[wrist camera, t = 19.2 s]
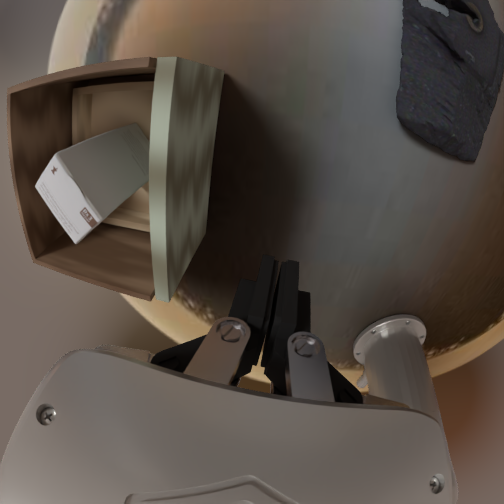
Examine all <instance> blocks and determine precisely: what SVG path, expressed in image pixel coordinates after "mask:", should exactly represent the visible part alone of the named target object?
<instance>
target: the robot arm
mask: <svg viewBox="0 0 504 504" xmlns="http://www.w3.org/2000/svg"><path fill="white" fill-rule="evenodd" d="M274 258H275V257H273V256H268V255H263V257H262V262H261V266H260V270H259V274H258V278H257V282H255V281H251V280H246V279H240V282H239V285H238V288H237V291H236V294H235V297H234V300H233V304H232V307H231V310H230V313H229V316H228V317H225V318H221V319H219V320H217V321H216V322H215V323H214V324H213V326H212V327H211V329H210V331H209V332H208V334H207V335H204V336H202V337H199V338H196V339H194V340H191V341H188V342H185V343H183V344H180V345H177V346H175V347H172V348H169V349H166V350H163V351H161V352H159V353H157V354H150V352H149V351H145V350H137V349H130V348H124V347H117V346H111V345H101V346H98V347H96V348H95V349H79V350H74V351H70V352H68V353H67V354H65V355H64V356H62V357H61V358H60V359H59V360H58V361H57V362H56V363H55V364H54V365H53V367H52V368H51V369H50V370H49V372H48V373H47V374H46V376H45V377H44V379H43V380H42V382H41V383H40V384H39V386H38V388H37V389H36V391H35V392H34V394H33V396H32V397H31V399H30V401H29V403H28V404H27V406H26V408H25V410H24V412H23V414H22V415H21V418H20V420H19V421H18V423H17V425H16V427H15V429H14V431H13V434H12V436H11V438H10V441H9V443H8V446H7V448H6V451H5V453H4V456H3V458H2V461H1V464H0V504H456V503H457V500H458V485H457V480H456V476H455V473H454V469H453V466H452V463H451V459H450V455H449V450H448V445H447V441H446V438H445V434H444V429H443V424H442V420H441V415H440V411H439V406H438V402H437V398H436V394H435V390H434V386H433V382H432V379H431V375H430V372H429V368H428V365H427V361H426V358H425V355H424V352H423V349H422V346H421V345H422V344H423V342H424V340H425V338H426V328H425V325H424V323H423V322H422V320H420V319H419V318H418V317H416V316H413V315H402V314H401V315H393V316H390V317H386V318H383V319H381V320H378V321H377V322H375V323H373V324H371V325H370V326H368V327H367V328H365V329H364V330H363V331H362V332H361V333H360V334H359V336H358V337H357V338H356V340H355V342H354V345H353V352H354V357H355V359H356V360H357V361H358V362H359V363H361V364H363V365H364V368H365V370H364V371H363V375H362V376H361V377H360V378H359V379H358V380H357V385H358V387H360V388H364V387H365V386H366V385H367V384H368V388H369V394H366V395H365V396H364V395H361V393H360V392H359V390H358V389H357V388H356V387H355V386H353V385H352V384H351V383H350V382H349V381H348V380H347V379H346V378H345V377H344V376H343V375H342V374H341V373H340V372H338V371H337V370H336V369H335V368H334V367H333V366H332V365H331V364H330V363H329V362H328V361H327V359H326V354H325V349H324V345H323V343H322V341H321V340H320V339H319V338H318V337H317V336H315V335H314V334H312V333H310V293H309V292H304V291H299V290H298V281H299V262H297V261H292V260H287V262H282V264H281V268H280V272H279V276H278V280H277V284H276V288H275V282H276V276H277V269H278V262H279V261H277V260H274ZM274 289H275V292H274ZM266 331H267V332H266ZM265 335H266V337H265ZM264 338H265V343H264V349H263V355H262V360H261V367H265V370H264V374H265V375H266V376H267V377H268V378H269V380H270V381H271V387H270V388H271V394H269V393H264V392H258V391H253V390H249V389H244V388H239V387H237V386H238V384H239V381H240V378H241V377H242V376H244V375H246V374H248V373H250V372H251V369H252V365H255V366H257V363H258V359H259V356H260V352H261V349H262V345H263V342H264Z"/></svg>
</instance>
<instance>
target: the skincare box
mask: <svg viewBox="0 0 504 504" xmlns="http://www.w3.org/2000/svg"><path fill="white" fill-rule="evenodd" d="M149 150H150V142H149V141H148V139H147V138H146V136H145V135H144V133H143V132H142V130H141V129H140V127H139V126H138V125H137V123H133V124H130V125H127V126H123V127H120V128H117V129H114V130H111V131H109V132H106V133H103V134H100V135H97V136H95V137H92V138H90V139H87V140H85V141H82V142H80V143H78V144H75V145H73V146H71V147H69V148H67V149H64V150H62V151H59V152H57V153H56V154H55V155H54V156H53V158H52V159H51V161H50V162H49V164H48V165H47V167H46V168H45V170H44V172H43V173H42V175H41V176H40V178H39V180H38V181H37V183H36V185H35V187H36V189H37V191H38V192H39V194H40V195H41V197H42V198H43V200H44V201H45V203H46V204H47V206H48V207H49V209H50V210H51V211H52V213H53V214H54V216H55V217H56V219H57V220H58V221H59V223H60V224H61V226H62V227H63V228H64V230H65V231H66V232H67V234H68V235H69V236H70V238H71V239H72V240H73V242H74V243H75V244H78V243H79V242H80V241H81V240H82V239H83V238H84V237H85V236H86V235H87V234H88V233H89V232H91V231H92V230H93V229H94V228H95V227H96V226H97V225H99V224H100V223H101V222H102V221H103V220H104V219H105V218H106V217H107V216H108V215H109V214H110V213H111V212H113V211H114V210H115V209H116V208H117V207H118V206H119V205H120V204H122V203H123V202H124V201H125V200H126V199H128V198H129V197H130V196H131V195H132V194H133V193H135V192H136V191H137V190H138V189H139V188H141V187H142V186H143V185H144V184H146V183H147V182H148V181H149Z"/></svg>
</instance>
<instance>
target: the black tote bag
mask: <svg viewBox="0 0 504 504" xmlns="http://www.w3.org/2000/svg"><path fill="white" fill-rule="evenodd" d="M436 1H437V2H438V3H440V4H444V5H445V6H446V7H447V8H448V9H449V16H448V17H445V15H443V14H441V13H440V12H437V11H435V10H433V9H430V8H428V7H423V6H421V4H420V3H419V1H418V0H403V6H404V8H403V11H402V12H403V17H404V19H403V20H402V21H403V27H402V29H403V36H402V43H401V49H402V55H403V56H402V58H401V72H400V87H399V89H398V92H397V96H396V113H397V118H398V119H399V120H400V122H402V124H403V125H404V126H405V127H406V128H408V129H409V130H411V131H413V132H415V133H416V134H417V135H419V136H421V137H422V138H424V139H425V140H426V141H427V142H429V143H431V144H432V145H435V146H438V147H439V148H441V149H442V150H443V151H445V152H446V153H449V154H451V155H457V156H458V158H459V159H461V160H465V161H468V160H471V161H475V160H476V158H477V155H478V152H479V150H480V148H481V145H482V140H483V136H484V133H485V131H486V130H487V126H488V124H489V121H490V116H491V114H492V111H493V108H494V106H495V103H496V99H497V95H498V89H499V87H500V86H501V79H502V74H503V70H504V33H503V32H502V31H501V30H500V28H499V27H498V24H497V23H496V21H495V19H494V13H493V11H492V9H491V7H490V4H489V1H488V0H436Z"/></svg>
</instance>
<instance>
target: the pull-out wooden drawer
mask: <svg viewBox="0 0 504 504" xmlns="http://www.w3.org/2000/svg"><path fill="white" fill-rule="evenodd" d="M223 78H224V71H223V70H220V69H217V68H214V67H211V66H207V65H204V64H201V63H198V62H194V61H190V60H187V59H183V58H179V57H158V58H157V65H156V72H155V81H148V82H127V83H114V84H104V85H95V86H87V87H80V88H74V89H73V99H72V144H73V145H75V144H78V143H80V142H82V141H85V140H87V139H90V138H92V137H95V136H97V135H100V134H103V133H106V132H109V131H111V130H114V129H117V128H120V127H123V126H127V125H130V124H133V123H137V125H138V126H139V127H140V129H141V130H142V132H143V133H144V135H145V136H146V138H147V139H148V141H149V142H150V150H149V181H148V182H147V183H146V184H144V185H143V186H142V187H141V188H139V189H138V190H137V191H136V192H135V193H133V194H132V195H131V196H130V197H129V198H128V199H126V200H125V201H124V202H123V203H122V204H120V205H119V206H118V207H117V208H116V209H115V210H114V211H113V212H111V213H110V214H109V215H108V216H107V217H106V218H105V219H104V220H103V221H102V222H103V223H108V224H112V225H117V226H122V227H127V228H132V229H137V230H142V231H147V232H150V237H151V253H152V266H153V277H154V287H155V296H156V299H157V300H161V301H165V302H170V300H171V298H172V296H173V294H174V292H175V290H176V288H177V286H178V284H179V282H180V280H181V278H182V276H183V274H184V273H185V271H186V269H187V267H188V265H189V263H190V261H191V259H192V257H193V256H194V254H195V252H196V250H197V248H198V246H199V245H200V243H201V241H202V239H203V237H204V235H205V234H206V225H207V213H208V201H209V190H210V180H211V170H212V161H213V152H214V144H215V135H216V127H217V120H218V112H219V105H220V98H221V91H222V84H223Z"/></svg>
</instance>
